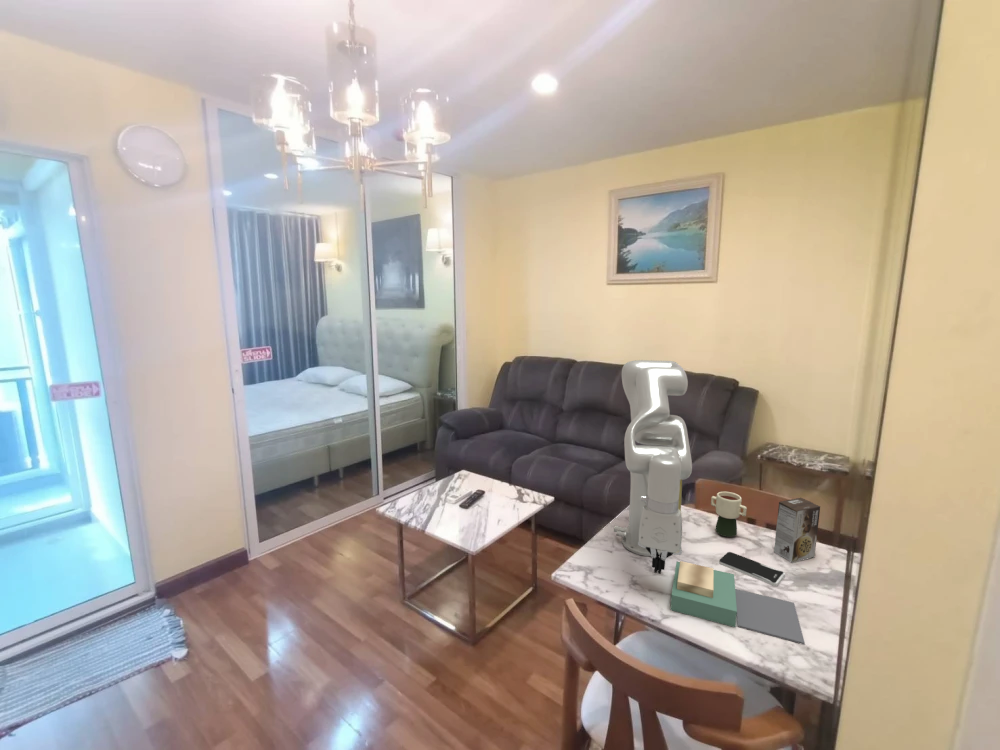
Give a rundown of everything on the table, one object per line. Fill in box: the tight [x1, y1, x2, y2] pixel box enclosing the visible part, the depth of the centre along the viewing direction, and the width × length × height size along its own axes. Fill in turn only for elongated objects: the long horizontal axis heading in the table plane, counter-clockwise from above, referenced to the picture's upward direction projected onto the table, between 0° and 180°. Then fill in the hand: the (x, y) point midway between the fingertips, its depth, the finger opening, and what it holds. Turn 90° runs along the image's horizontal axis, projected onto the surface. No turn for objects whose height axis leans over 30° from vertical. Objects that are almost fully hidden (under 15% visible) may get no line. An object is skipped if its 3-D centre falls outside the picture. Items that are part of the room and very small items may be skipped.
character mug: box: [710, 491, 748, 538], centre depth 146 cm, size 11×7×13 cm, turn 41°
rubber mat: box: [735, 588, 806, 645], centre depth 109 cm, size 13×15×1 cm
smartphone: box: [718, 551, 786, 587], centre depth 128 cm, size 8×1×15 cm
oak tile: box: [677, 560, 715, 598], centre depth 115 cm, size 8×10×2 cm
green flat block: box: [670, 561, 737, 628], centre depth 115 cm, size 14×16×4 cm
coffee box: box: [773, 497, 821, 563], centre depth 134 cm, size 9×6×16 cm
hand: (658, 570), depth 119 cm, fingers closed
